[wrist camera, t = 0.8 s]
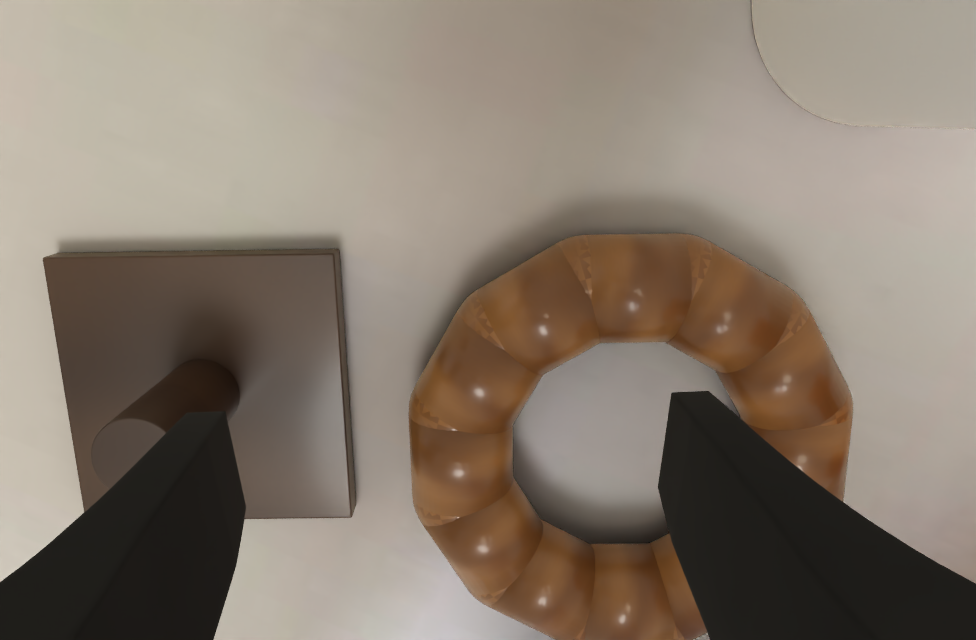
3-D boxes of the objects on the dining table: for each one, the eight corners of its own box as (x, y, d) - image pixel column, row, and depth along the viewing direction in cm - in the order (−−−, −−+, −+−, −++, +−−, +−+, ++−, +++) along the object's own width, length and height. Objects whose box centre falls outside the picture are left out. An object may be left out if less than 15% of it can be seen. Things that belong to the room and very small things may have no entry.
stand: (356, 505, 30) (320, 609, 24) (98, 508, 30) (-6, 612, 24) (339, 248, 27) (294, 287, 21) (57, 252, 28) (-71, 293, 21)
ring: (804, 604, 31) (844, 666, 28) (422, 609, 31) (414, 671, 28) (842, 223, 27) (894, 239, 24) (407, 230, 27) (394, 247, 24)
